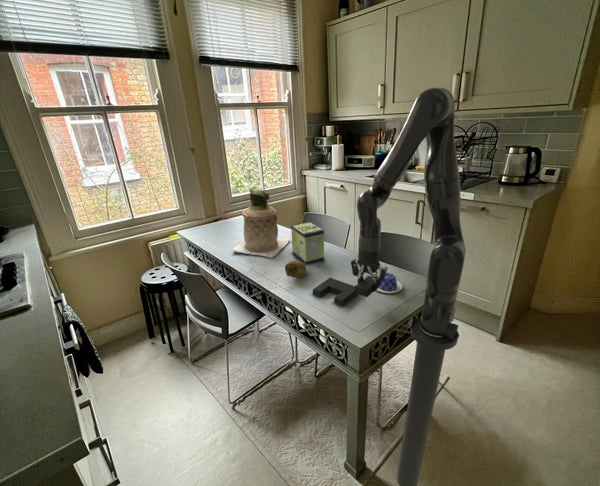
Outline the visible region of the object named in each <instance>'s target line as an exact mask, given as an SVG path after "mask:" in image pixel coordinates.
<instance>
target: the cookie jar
mask: <svg viewBox="0 0 600 486" xmlns="http://www.w3.org/2000/svg"><path fill="white" fill-rule="evenodd" d="M248 191H249V201H250V202H251V204H250V205H249V206H248V207H247V208H245V209H243V210H242V212H241V214H242V217H243V239H244V240H243V242H241V243H239V244H238V245H236V246H234V247H233V248H232V250H231V251H233V254H235V255H236V253H237V254H244V255H253V256H261V257H266V258H271V259H272V258H273V257H274V256H277V255H278V254H279V252H281V250H282V249H283V248H285V247H286V246H287V245H288V244H289V242H290V238H289V237H281V236H279V228H278V227H279V226H278V224H277V219H278V217H277V216H278V215H277V210H276V209H275V208H274V207H273V206H271V205H270V204H268V202H267V201H268V200H270V194H269V193H268V192H266V191H265V190H262V189H249V190H248Z"/></svg>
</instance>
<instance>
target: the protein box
mask: <svg viewBox="0 0 600 486" xmlns="http://www.w3.org/2000/svg"><path fill="white" fill-rule="evenodd" d="M290 227H291V245H292V246H291V249H292V254H293V255H294V256H295V257H296V258H298V259H299V260H300V262H303V263H305V265H309V264H312V263H317V262H321V261H324V260H325V231H324V229H322V228H321V227H318V226H317V225H315V224H313V223H312V222H310V221H307V222H302V223H296V224H291V225H290Z"/></svg>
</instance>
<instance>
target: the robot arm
mask: <svg viewBox="0 0 600 486" xmlns="http://www.w3.org/2000/svg"><path fill="white" fill-rule="evenodd" d="M455 108H456V102H455V97H454V95H453V93H452V92H451V91H450V90H449V89H446V88H445V87H430V88H426V89H424V90H423V91H422V92H421V93H420V94H419V95H418V96H417V97H416V99H415V100H414V103H413V105H412V108H411V109H410V112H409V114H408V116H407V119H406V120H405V123H404V126H403V128H402V130H401V131H400V134H399V135H398V137H397V138H396V140H395V143H394V144H393V146H392V147H391V149H390V151H389V153H388V154H387V155H386V157H385V158H384V160H383V161H382V163H381V164H380V166H379V168H378V169H377V170H376V173H375V175H374V177H373V182H372V185H371V187H369V189H368V190H365V191H364V192H362V193H360V195H359V196H358V198H357V202H356V211H357V216H358V220H359V235H358V248H357V249H358V251H357V252H358V253H357V258H358V259H357V258H354V259H352V260H351V261H350V265H351V271H352V275H353V276H354V277H356V278H357V284H358V283H360V282H361V281H362V280H364V279H365V276H364V275H365V274H367V275H369V276H370V277H371V278H372V280H373V284H372V292H373V293H375V292H377V291H378V290H377V289H378V283H379V284H380V283H381V282H382V281H384V278H385V275H386V273H388V269H389V268H388V267H387V266H385V267H384V266H383V265H381V263H380V259H381V245H382V241H381V240H382V237H381V233H382V232H381V231H382V222H381V219H380V218H379V217H378V210H379V209H381V208H382V207H383V206H384V205H385V203H386V202H387V201H388V199H389V197H390V195H391V193H392V191H393V189H394V188H395V186H396V185H397V184H398V183H399V181H400V179H401V178H402V176H403V175H404V174H405V172H406V170H407V169H408V167H409V166H410V163H411V161H412V159H413V157H414V155H415V153H416V152H417V150H418V148H419V147H420V145H421V144H422V142H423V141H424V140H425V142H426V153H425V158H424V159H425V160H424V168H423V185H424V193H425V199H426V204H427V206H428V209H429V212H430V215H431V217H432V221H433V227H434V228H433V229H434V243H433V248H432V249H431V253H430V257H429V262H428V263H429V265H428V270H427V276H426V277H427V279H426V280H427V281H426V287H425V294H424V298H423V299H424V301H423V305H422V313H421V317H422V318H421V323H420V329H421V331H422V332H423V333H424V334H426V335H427V336H430V337H433V338H442V339H446V338H447V337H450V338H451V339H457V338H458V339H459V337H460V334H459V331H458V329H459V324H456V323H454V317H455V313H456V308H457V307H456V301H457V295H458V291H459V287H460V284H461V279H462V274H463V269H464V264H465V258H466V252H467V251H466V245H465V240H464V236H463V230H462V226H461V202H462V201H461V200H462V199H461V180H460V171H459V163H458V162H459V161H458V155H457V149H456V142H455V111H456V109H455ZM457 331H458V332H457ZM455 335H456V336H455Z"/></svg>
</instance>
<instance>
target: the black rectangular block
mask: <svg viewBox="0 0 600 486" xmlns="http://www.w3.org/2000/svg"><path fill="white" fill-rule="evenodd" d="M372 284H373V280H372V278H371V277H370V275H367V276H366V277H364V279H363V280H362V281H361V282H360V283H358V282H357V283H356V285H354V286H355V294H356V295H359V296H361V297H364V298H368V297H369V296H371V295H372V294H373V293H374V292H372ZM379 286H380V284H379V283H378V287H379Z"/></svg>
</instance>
